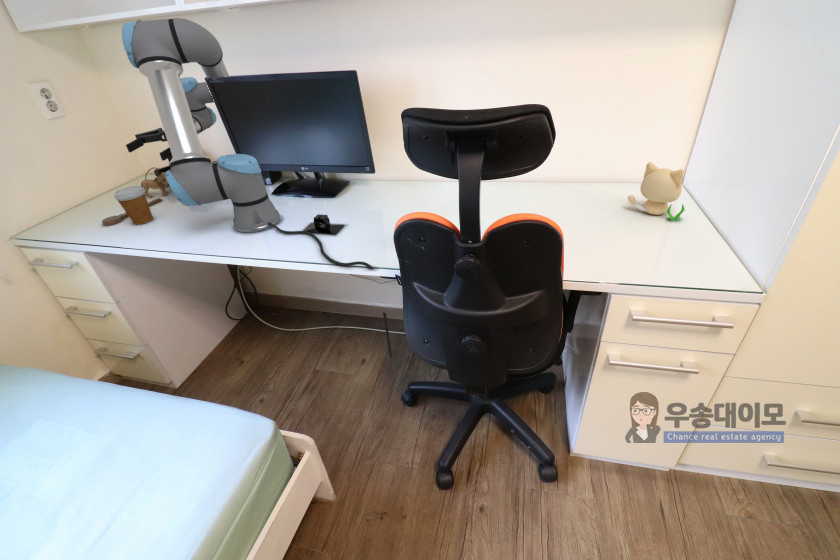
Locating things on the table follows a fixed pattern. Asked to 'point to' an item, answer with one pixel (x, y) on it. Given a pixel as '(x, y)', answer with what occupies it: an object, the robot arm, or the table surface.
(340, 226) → the build plate
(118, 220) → the spoon
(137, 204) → the disposable coffee cup
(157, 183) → the lion figurine
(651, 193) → the kitten
